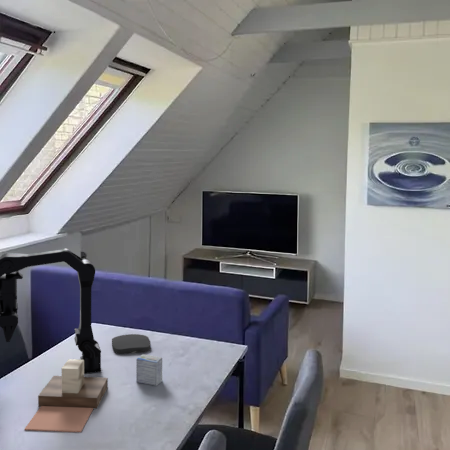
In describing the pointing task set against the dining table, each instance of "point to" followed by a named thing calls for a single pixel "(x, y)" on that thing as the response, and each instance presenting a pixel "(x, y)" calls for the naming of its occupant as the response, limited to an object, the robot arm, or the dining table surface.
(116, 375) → the dining table surface
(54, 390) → the oak plinth
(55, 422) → the terracotta mat
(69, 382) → the birch block
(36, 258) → the robot arm
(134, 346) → the media streaming box
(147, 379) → the medicine box
